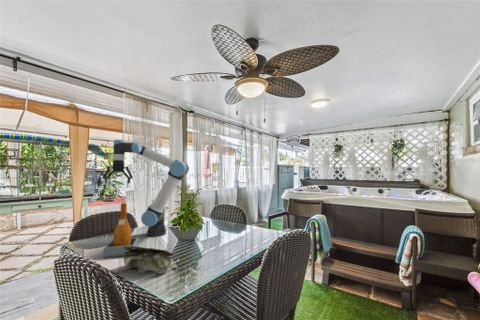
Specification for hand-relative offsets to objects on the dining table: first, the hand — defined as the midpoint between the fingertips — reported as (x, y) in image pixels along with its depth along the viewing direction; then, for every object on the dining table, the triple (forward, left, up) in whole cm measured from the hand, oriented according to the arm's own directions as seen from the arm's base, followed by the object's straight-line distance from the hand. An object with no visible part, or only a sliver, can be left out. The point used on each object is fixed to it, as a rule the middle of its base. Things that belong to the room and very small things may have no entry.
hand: (117, 187), depth 162 cm
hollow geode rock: (-30, +57, -39) cm, 75 cm away
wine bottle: (-11, +28, -38) cm, 48 cm away
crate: (-11, +28, -39) cm, 49 cm away
